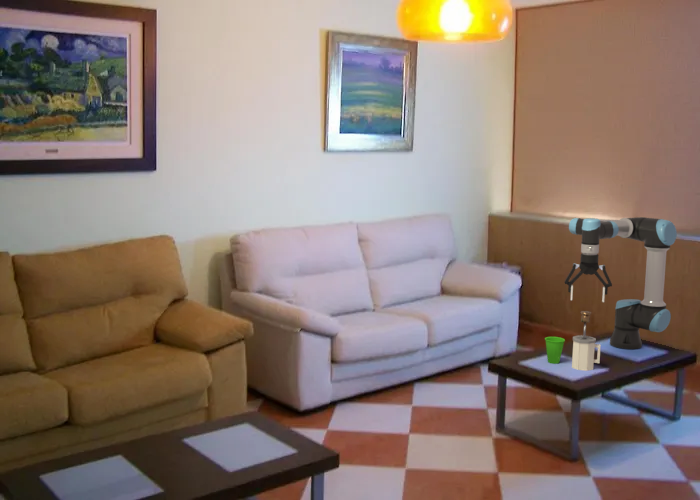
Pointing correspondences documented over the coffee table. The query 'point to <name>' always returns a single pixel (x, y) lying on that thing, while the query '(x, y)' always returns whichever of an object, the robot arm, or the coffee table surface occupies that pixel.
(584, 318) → the plunger
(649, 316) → the robot arm
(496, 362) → the coffee table surface
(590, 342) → the press
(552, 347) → the cup
